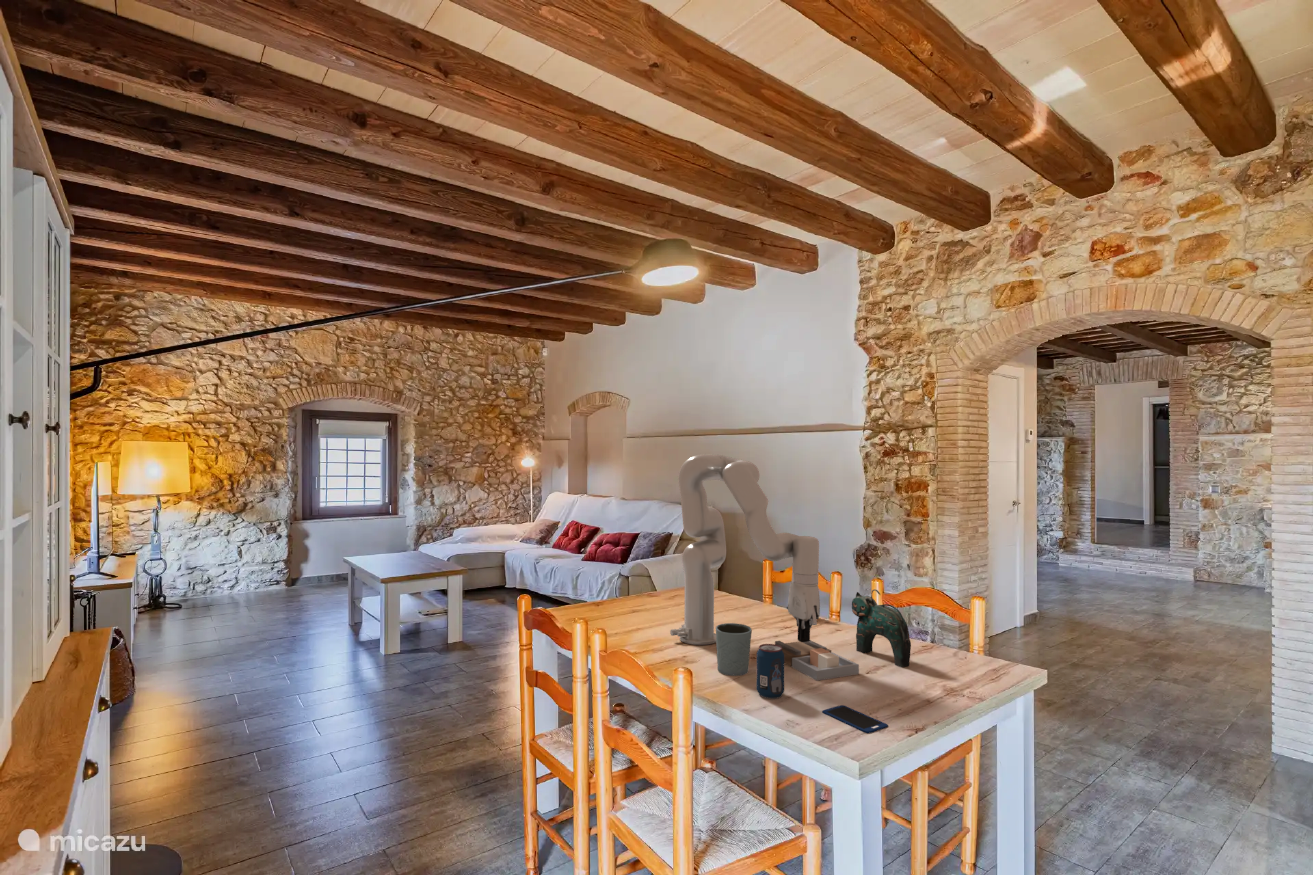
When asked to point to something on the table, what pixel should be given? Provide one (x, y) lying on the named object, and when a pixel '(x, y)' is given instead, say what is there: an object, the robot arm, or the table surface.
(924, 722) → the table surface
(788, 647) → the slot board
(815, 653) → the terracotta block
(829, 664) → the cream block
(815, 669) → the tray
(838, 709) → the cell phone
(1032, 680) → the table surface
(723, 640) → the green cup
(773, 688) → the soda can
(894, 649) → the ceramic cat
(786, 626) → the table surface
